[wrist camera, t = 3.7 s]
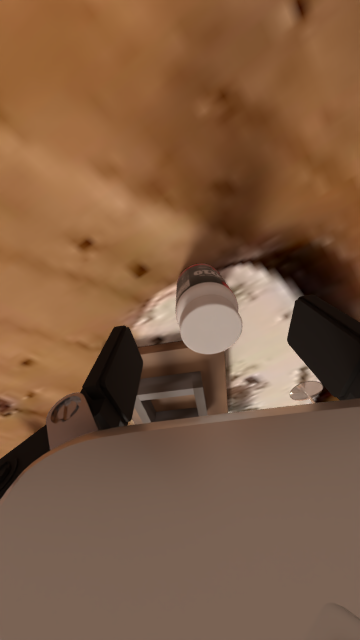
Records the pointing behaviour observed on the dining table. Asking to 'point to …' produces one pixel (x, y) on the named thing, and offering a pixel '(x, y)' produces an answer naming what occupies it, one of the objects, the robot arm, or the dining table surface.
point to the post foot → (179, 384)
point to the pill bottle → (206, 310)
